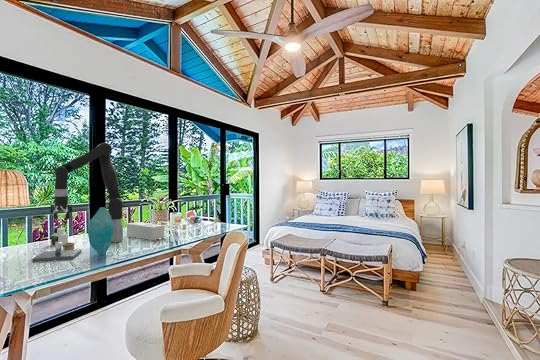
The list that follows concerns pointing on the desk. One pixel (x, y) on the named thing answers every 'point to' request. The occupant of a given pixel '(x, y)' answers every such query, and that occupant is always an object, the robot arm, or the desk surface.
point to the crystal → (100, 231)
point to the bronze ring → (68, 246)
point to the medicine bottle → (59, 236)
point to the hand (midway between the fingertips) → (61, 219)
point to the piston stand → (57, 254)
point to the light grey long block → (145, 230)
